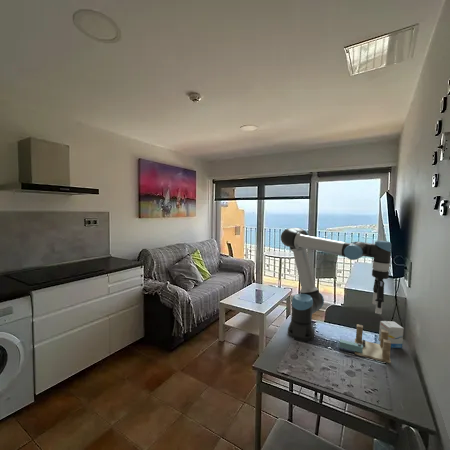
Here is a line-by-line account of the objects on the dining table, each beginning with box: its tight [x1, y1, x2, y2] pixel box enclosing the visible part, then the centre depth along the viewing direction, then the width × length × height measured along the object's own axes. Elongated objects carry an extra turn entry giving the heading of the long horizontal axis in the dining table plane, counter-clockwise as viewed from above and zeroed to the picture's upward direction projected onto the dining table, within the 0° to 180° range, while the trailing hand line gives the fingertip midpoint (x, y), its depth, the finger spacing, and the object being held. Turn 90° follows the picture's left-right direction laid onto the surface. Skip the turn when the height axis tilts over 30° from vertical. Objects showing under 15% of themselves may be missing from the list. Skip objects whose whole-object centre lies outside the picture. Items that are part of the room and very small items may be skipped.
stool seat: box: [354, 324, 392, 364], centre depth 136 cm, size 16×16×10 cm
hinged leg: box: [338, 339, 363, 353], centre depth 135 cm, size 11×3×4 cm, turn 63°
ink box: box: [378, 320, 405, 349], centre depth 144 cm, size 9×8×12 cm
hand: (376, 308), depth 136 cm, fingers open, 13 cm apart
